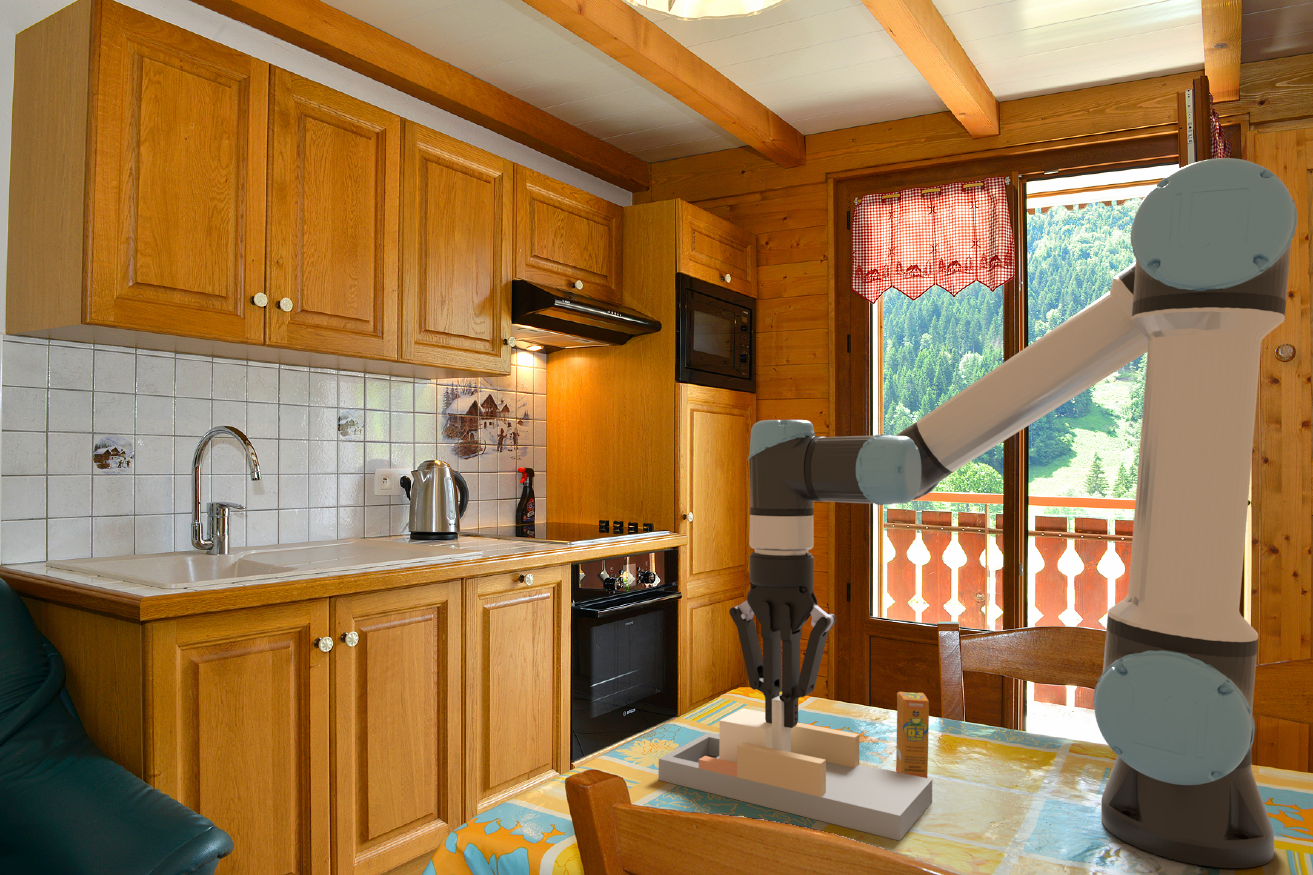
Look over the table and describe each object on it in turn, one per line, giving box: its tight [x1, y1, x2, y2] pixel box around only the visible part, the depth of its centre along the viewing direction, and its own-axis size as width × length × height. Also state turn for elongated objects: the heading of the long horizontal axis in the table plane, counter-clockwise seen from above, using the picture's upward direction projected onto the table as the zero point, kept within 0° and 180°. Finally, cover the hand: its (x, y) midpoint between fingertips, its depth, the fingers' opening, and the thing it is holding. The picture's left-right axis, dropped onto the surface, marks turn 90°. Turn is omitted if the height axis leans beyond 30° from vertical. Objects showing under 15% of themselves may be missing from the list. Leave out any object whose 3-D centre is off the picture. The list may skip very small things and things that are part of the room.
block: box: [719, 707, 772, 763], centre depth 101 cm, size 6×6×5 cm
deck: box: [658, 722, 933, 842], centre depth 99 cm, size 29×12×6 cm, turn 57°
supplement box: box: [895, 691, 930, 778], centre depth 103 cm, size 3×3×10 cm
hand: (781, 753), depth 99 cm, fingers closed
